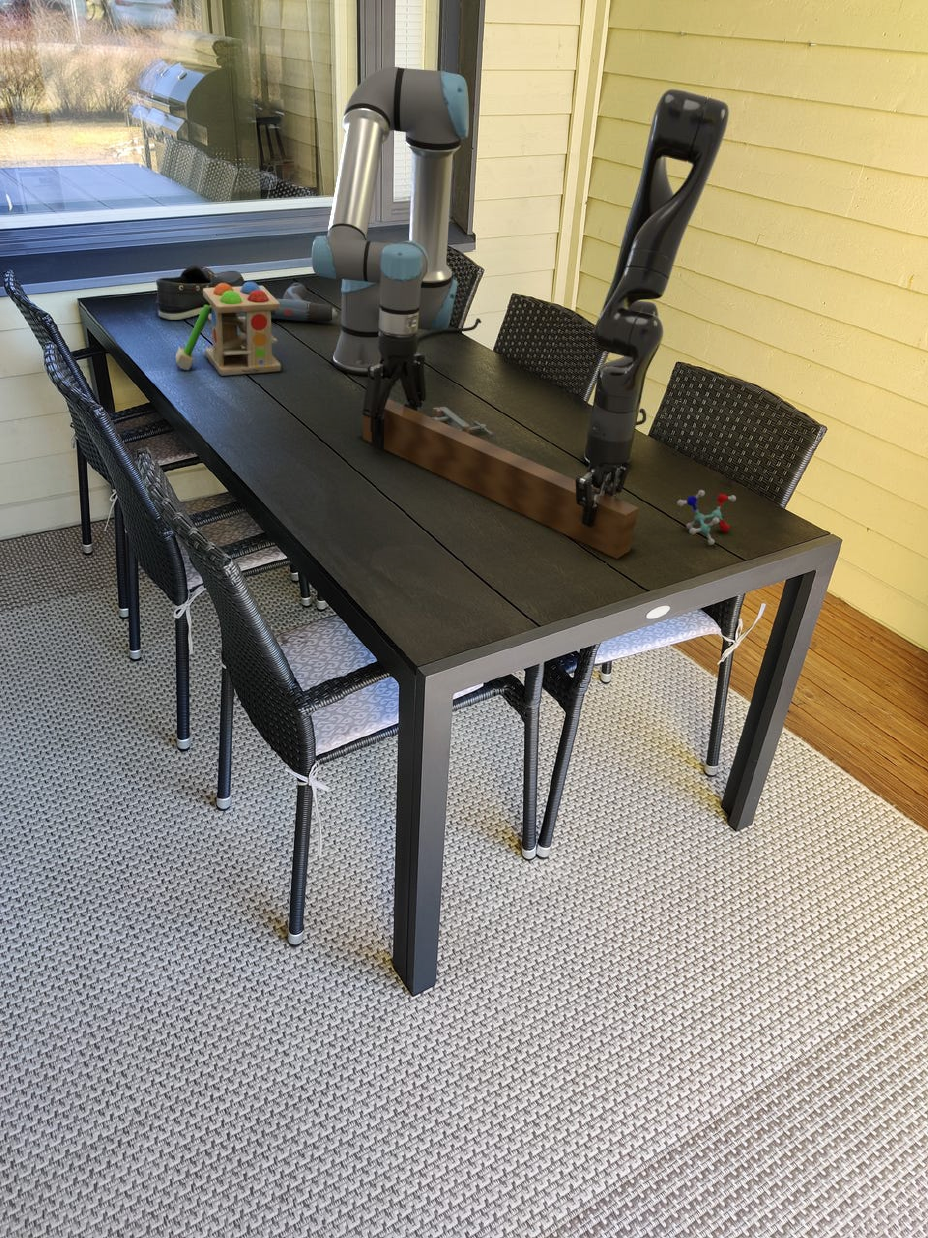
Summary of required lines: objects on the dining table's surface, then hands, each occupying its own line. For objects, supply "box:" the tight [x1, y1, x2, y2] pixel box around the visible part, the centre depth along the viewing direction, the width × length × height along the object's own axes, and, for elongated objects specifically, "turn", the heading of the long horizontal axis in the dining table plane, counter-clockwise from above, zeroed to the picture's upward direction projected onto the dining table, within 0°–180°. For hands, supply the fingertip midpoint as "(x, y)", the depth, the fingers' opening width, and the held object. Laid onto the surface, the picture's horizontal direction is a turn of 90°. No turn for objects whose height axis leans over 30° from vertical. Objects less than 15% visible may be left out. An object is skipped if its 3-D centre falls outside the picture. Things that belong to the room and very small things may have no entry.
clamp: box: [431, 406, 495, 438], centre depth 210 cm, size 15×2×10 cm
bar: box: [362, 398, 639, 560], centre depth 185 cm, size 64×4×9 cm, turn 49°
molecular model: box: [676, 489, 737, 546], centre depth 179 cm, size 12×10×10 cm
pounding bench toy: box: [174, 281, 282, 377], centre depth 225 cm, size 23×14×18 cm, turn 116°
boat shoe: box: [155, 264, 246, 321], centre depth 263 cm, size 13×33×10 cm, turn 147°
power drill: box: [271, 282, 338, 322], centre depth 265 cm, size 5×19×20 cm
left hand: (393, 441), depth 200 cm, fingers open, 8 cm apart
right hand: (595, 520), depth 173 cm, fingers closed on bar, 4 cm apart
